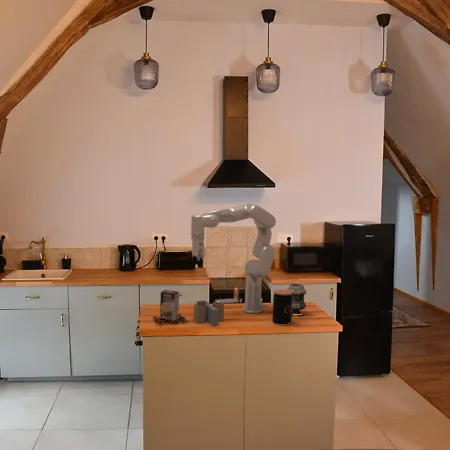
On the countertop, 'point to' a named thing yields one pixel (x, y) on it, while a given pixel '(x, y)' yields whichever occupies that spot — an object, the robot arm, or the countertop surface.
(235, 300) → the swing bar
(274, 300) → the coffee jar
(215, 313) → the grey twin block
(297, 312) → the apothecary jar
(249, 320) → the countertop surface
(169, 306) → the coffee box
